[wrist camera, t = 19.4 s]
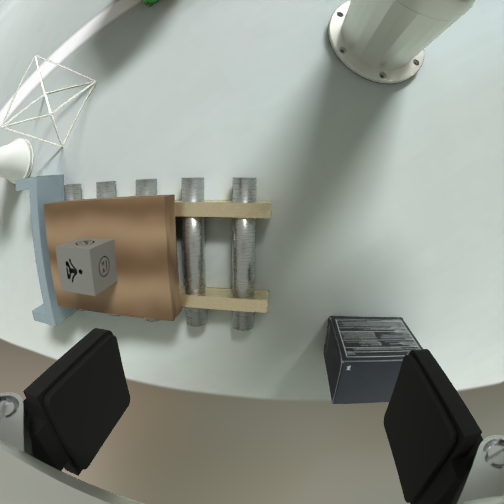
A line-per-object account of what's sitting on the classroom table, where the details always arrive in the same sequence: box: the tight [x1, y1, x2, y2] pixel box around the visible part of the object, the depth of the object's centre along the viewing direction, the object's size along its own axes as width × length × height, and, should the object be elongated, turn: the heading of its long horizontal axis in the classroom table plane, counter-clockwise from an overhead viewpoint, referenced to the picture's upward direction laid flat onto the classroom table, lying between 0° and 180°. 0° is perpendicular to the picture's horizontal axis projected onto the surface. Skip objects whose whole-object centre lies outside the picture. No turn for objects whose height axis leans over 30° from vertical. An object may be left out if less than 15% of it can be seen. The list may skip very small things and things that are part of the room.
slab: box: [44, 195, 181, 321], centre depth 35 cm, size 14×18×3 cm
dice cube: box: [56, 237, 118, 296], centre depth 31 cm, size 5×5×5 cm
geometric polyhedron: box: [2, 55, 96, 147], centre depth 31 cm, size 12×11×9 cm
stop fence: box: [15, 175, 77, 326], centre depth 37 cm, size 21×5×6 cm, turn 179°
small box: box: [324, 316, 423, 404], centre depth 33 cm, size 11×6×10 cm, turn 88°
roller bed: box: [64, 178, 272, 331], centre depth 37 cm, size 18×30×3 cm, turn 89°
